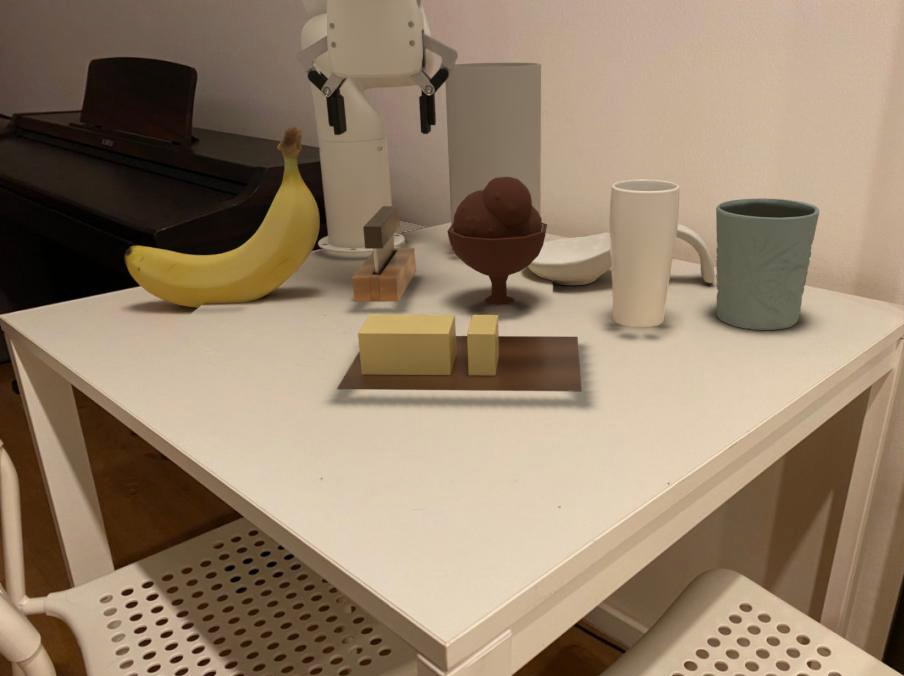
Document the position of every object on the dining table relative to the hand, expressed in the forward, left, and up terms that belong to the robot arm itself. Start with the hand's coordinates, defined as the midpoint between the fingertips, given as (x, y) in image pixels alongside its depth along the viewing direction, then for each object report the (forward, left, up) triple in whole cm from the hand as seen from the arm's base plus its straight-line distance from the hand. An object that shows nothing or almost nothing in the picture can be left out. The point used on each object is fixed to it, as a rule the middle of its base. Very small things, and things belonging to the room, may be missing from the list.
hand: (383, 133), depth 89 cm
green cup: (+7, +41, -19) cm, 46 cm away
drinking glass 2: (+11, +28, -19) cm, 36 cm away
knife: (-1, -1, -18) cm, 18 cm away
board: (+23, +11, -19) cm, 32 cm away
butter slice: (+24, +13, -18) cm, 33 cm away
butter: (+24, +6, -18) cm, 31 cm away
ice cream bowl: (+5, +13, -19) cm, 24 cm away
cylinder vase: (-20, +11, -19) cm, 29 cm away
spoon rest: (-7, +27, -19) cm, 34 cm away
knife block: (-1, -1, -19) cm, 19 cm away
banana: (+4, -19, -19) cm, 27 cm away
